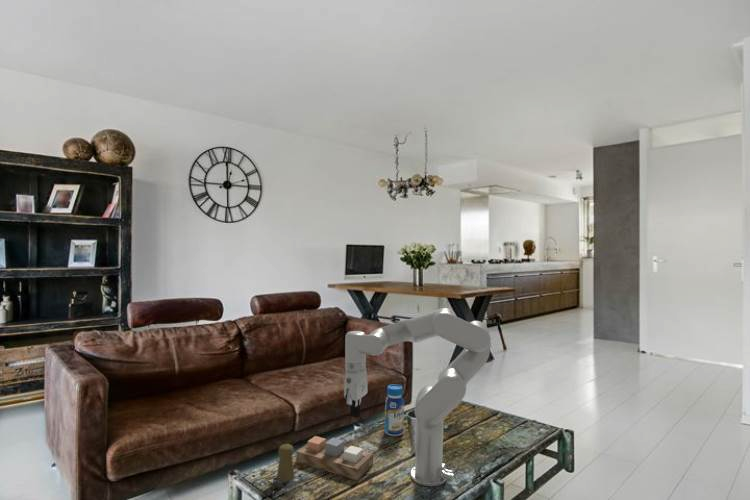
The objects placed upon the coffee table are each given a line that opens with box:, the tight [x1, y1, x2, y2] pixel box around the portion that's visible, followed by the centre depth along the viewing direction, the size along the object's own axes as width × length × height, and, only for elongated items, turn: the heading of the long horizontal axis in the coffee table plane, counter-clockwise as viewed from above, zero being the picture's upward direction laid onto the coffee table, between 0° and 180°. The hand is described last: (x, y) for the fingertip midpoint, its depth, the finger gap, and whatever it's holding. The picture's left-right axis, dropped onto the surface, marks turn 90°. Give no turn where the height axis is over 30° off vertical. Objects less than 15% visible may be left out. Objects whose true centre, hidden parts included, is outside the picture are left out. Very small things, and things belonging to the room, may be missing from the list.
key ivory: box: [344, 445, 364, 464], centre depth 156 cm, size 5×5×5 cm
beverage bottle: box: [384, 383, 405, 437], centre depth 186 cm, size 8×8×20 cm
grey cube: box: [325, 437, 345, 458], centre depth 159 cm, size 5×5×5 cm
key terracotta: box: [307, 435, 327, 453], centre depth 163 cm, size 5×5×5 cm
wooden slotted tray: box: [295, 440, 374, 481], centre depth 160 cm, size 26×12×4 cm, turn 63°
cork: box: [276, 443, 295, 483], centre depth 150 cm, size 6×6×11 cm
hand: (355, 416), depth 156 cm, fingers closed
